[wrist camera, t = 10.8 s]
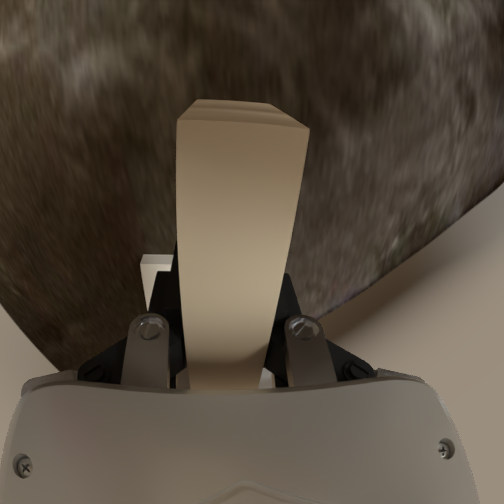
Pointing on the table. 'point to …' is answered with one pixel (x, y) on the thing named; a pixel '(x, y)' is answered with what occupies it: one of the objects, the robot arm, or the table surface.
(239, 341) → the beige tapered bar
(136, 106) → the table surface
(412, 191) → the table surface
